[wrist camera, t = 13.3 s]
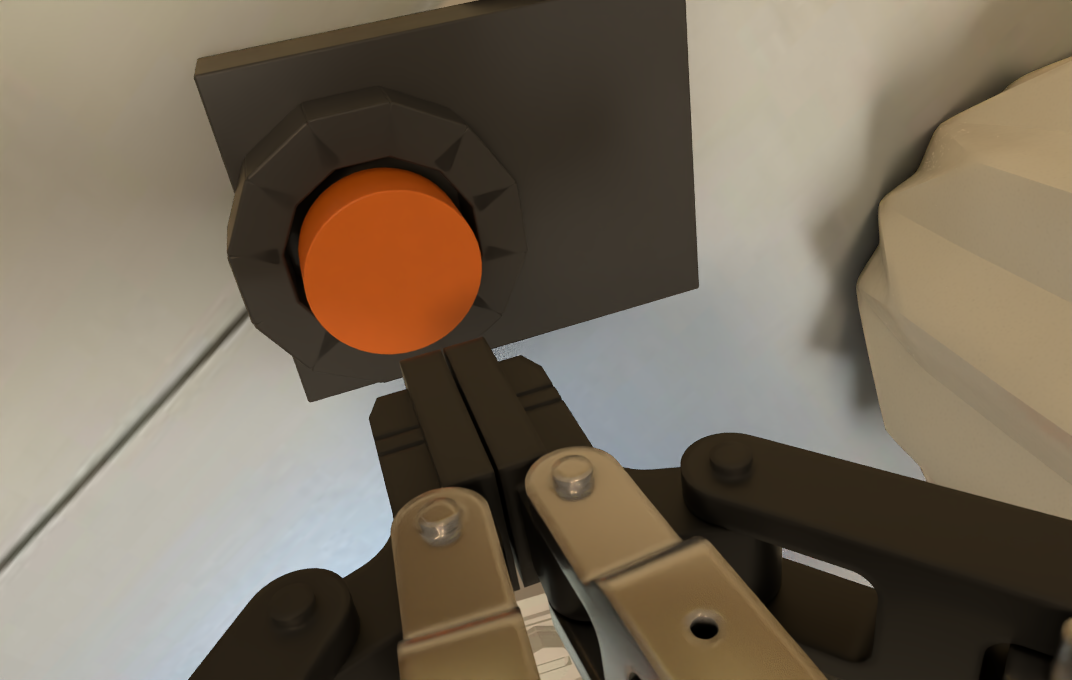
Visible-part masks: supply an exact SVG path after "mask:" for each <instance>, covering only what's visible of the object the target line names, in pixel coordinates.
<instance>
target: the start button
mask: <svg viewBox="0 0 1072 680" xmlns="http://www.w3.org/2000/svg"><path fill="white" fill-rule="evenodd" d="M298 254H299V262H300V268H301V273H302V279H303V284H304V289H305V293H306V298H307V301H308V303H309V306H310V308H311V310H312V312H313V314H314V315H315V317H316V319H317V320H318V321H319V322H320V324H321V325H322V326H323V327H324V328H325V329H326V330H327V331H328V332H329V333H330V334H331V335H332V336H334V337H335V338H337V339H338V340H339V341H341V342H343V343H345V344H347V345H349V346H351V347H353V348H356V349H358V350H361V351H366V352H370V353H376V354H400V353H407V352H411V351H415V350H418V349H421V348H424V347H426V346H429V345H431V344H433V343H435V342H437V341H438V340H440V339H441V338H443V337H444V336H446V335H447V334H448V333H450V332H451V331H452V330H453V329H454V328H455V327H456V326H457V325H458V324H459V323H460V322H461V321H462V320H463V318H464V317H465V316H466V314H467V313H468V312H469V310H470V308H471V306H472V305H473V303H474V300H475V298H476V296H477V293H478V290H479V286H480V282H481V275H482V260H481V252H480V249H479V245H478V242H477V239H476V237H475V235H474V233H473V231H472V229H471V228H470V226H469V224H468V223H467V221H466V220H465V219H464V217H463V216H462V214H461V213H460V212H459V210H458V209H457V207H456V206H455V204H454V203H453V202H452V200H451V199H450V198H449V197H448V195H447V194H446V193H445V192H444V191H443V190H442V189H441V188H440V187H439V186H437V185H436V184H435V183H433V182H432V181H430V180H429V179H427V178H425V177H423V176H421V175H419V174H416V173H414V172H411V171H408V170H403V169H398V168H387V167H385V168H372V169H366V170H362V171H359V172H355V173H352V174H350V175H348V176H346V177H344V178H342V179H340V180H338V181H337V182H335V183H334V184H332V185H331V186H330V187H328V188H327V189H326V190H325V191H324V192H323V193H322V194H321V195H320V196H319V197H318V198H317V199H316V200H315V202H314V203H313V204H312V206H311V207H310V209H309V211H308V212H307V214H306V216H305V218H304V221H303V224H302V227H301V230H300V235H299V243H298Z"/></svg>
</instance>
